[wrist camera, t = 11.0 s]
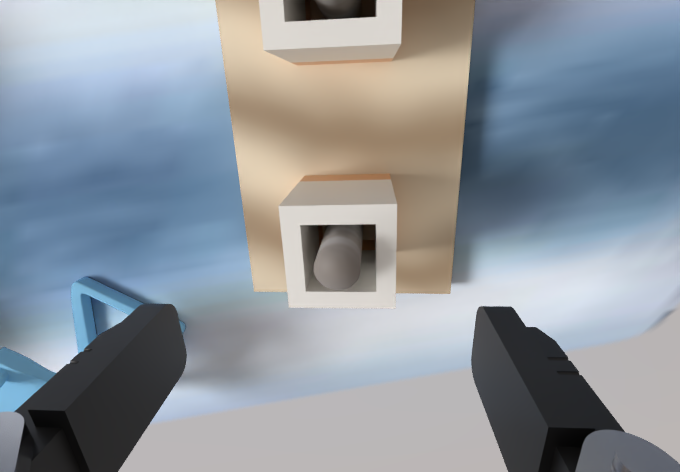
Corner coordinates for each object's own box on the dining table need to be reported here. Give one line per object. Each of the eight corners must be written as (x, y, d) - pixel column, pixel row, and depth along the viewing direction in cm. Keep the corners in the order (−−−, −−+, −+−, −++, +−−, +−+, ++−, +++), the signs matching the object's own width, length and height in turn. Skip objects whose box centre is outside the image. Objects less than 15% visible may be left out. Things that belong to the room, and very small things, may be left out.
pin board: (211, -104, 17) (75, -276, 9) (479, -127, 16) (583, -343, 8) (259, 282, 24) (206, 370, 16) (446, 284, 23) (484, 378, 15)
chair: (60, 357, 28) (-152, 535, 16) (83, 273, 25) (-157, 421, 13) (154, 399, 28) (13, 596, 17) (187, 323, 25) (43, 502, 14)
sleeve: (304, 175, 20) (278, 206, 14) (389, 173, 19) (396, 204, 14) (310, 252, 21) (288, 307, 16) (388, 252, 21) (395, 308, 15)
